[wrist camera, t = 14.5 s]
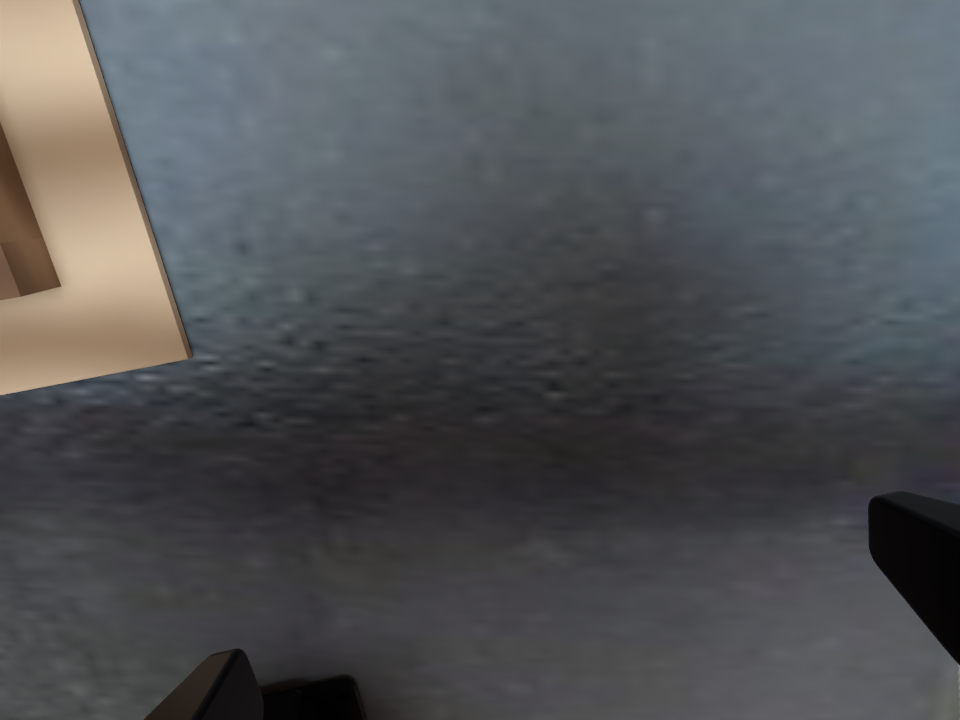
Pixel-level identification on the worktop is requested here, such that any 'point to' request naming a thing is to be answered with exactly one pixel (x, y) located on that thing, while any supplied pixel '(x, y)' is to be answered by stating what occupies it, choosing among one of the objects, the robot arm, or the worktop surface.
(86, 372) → the socket board
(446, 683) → the worktop surface
